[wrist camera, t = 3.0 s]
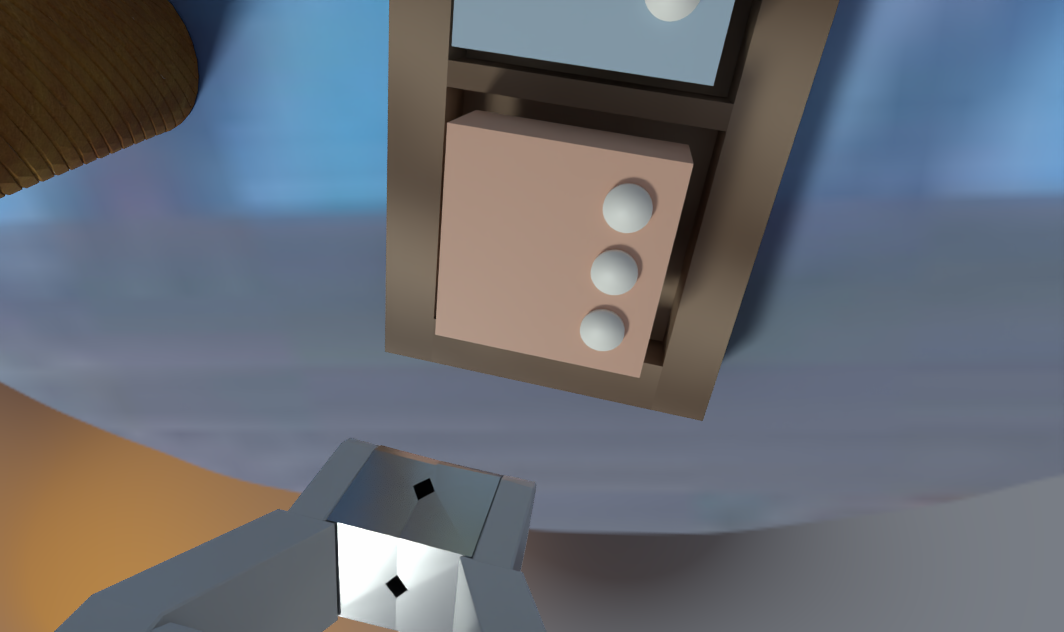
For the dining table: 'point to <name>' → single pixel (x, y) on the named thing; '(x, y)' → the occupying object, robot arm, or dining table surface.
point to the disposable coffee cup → (87, 82)
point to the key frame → (621, 107)
